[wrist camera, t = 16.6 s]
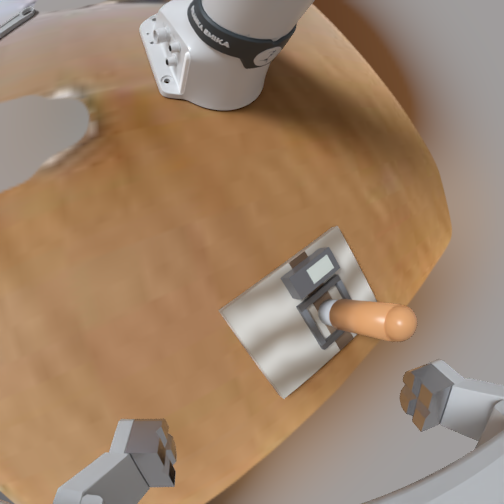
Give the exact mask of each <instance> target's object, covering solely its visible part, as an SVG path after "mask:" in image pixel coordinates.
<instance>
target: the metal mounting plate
mask: <svg viewBox="0 0 504 504" xmlns="http://www.w3.org/2000/svg"><path fill="white" fill-rule="evenodd" d="M324 247H329V248H330V250H331V251H332V253H333V255H334V257H335V259H336V260H337V262H338V264H339V266H340V268H339V269H338V270H337V271H336V272H335V273H334V274H332V275H331V276H330V277H329V278H328V279H326V280H325V281H324V282H323V283H322V284H320V285H319V286H318V287H317V288H316V289H314V290H313V291H312V292H311V293H309V294H308V295H307V296H306V297H305V298H303V299H302V300H300V299H293V298H292V296H291V295H290V293H289V291H288V290H287V288H286V287H285V285H284V283H283V282H282V280H281V277H282V276H283V275H285V274H286V273H287V272H289V271H290V270H291V269H293V268H294V267H295V266H297V265H298V264H299V263H301V262H302V261H303V260H305V259H306V258H307V257H309V256H310V255H311V254H312V253H314V252H315V251H316V250H318V249H319V248H324ZM327 299H335V300H339V299H350V300H360V301H371V302H377V301H376V299H375V297H374V294H373V292H372V290H371V288H370V286H369V284H368V282H367V280H366V278H365V276H364V275H363V273H362V271H361V269H360V267H359V265H358V263H357V261H356V259H355V257H354V255H353V253H352V252H351V250H350V248H349V246H348V244H347V242H346V240H345V239H344V237H343V235H342V233H341V231H340V229H339V228H338V226H335V227H332V228H330V229H329V230H328V231H326V232H325V233H324V234H322V235H321V236H320V237H318V238H317V239H316V240H314V241H313V242H312V243H310V244H309V245H308V246H306V247H305V248H304V249H302V250H301V251H300V252H298V253H297V254H295V255H294V256H293V257H291V258H290V259H289V260H287V261H286V262H285V263H283V264H282V265H281V266H279V267H278V268H276V269H275V270H274V271H272V272H271V273H270V274H268V275H267V276H266V277H264V278H263V279H261V280H260V281H259V282H257V283H256V284H254V285H253V286H252V287H250V288H249V289H248V290H246V291H245V292H243V293H242V294H241V295H239V296H238V297H236V298H235V299H234V300H232V301H231V302H229V303H228V304H227V305H225V306H224V307H222V308H221V309H220V310H219V312H220V313H221V315H222V316H223V318H224V319H225V321H226V322H227V324H228V325H229V326H230V328H231V329H232V331H233V332H234V334H235V335H236V336H237V338H238V339H239V341H240V342H241V344H242V345H243V346H244V348H245V349H246V351H247V352H248V353H249V355H250V356H251V358H252V359H253V360H254V362H255V363H256V365H257V366H258V367H259V369H260V370H261V371H262V373H263V374H264V375H265V377H266V378H267V380H268V381H269V382H270V384H271V385H272V386H273V388H274V389H275V390H276V392H277V393H278V394H279V395H280V396H281V397H282V398H283V399H284V398H286V397H287V396H288V395H289V394H291V393H292V392H293V391H294V390H295V389H297V388H298V387H299V386H300V385H301V384H303V383H304V382H305V381H306V380H307V379H308V378H310V377H311V376H312V375H313V374H314V373H315V372H317V371H318V370H319V369H320V368H321V367H322V366H323V365H325V364H326V363H327V362H328V361H329V360H330V359H331V358H332V357H333V356H334V355H336V354H337V353H338V352H339V351H340V350H342V349H343V348H344V347H345V346H346V345H347V344H348V343H349V342H350V341H351V340H352V339H353V338H354V337H355V336H356V335H357V334H356V333H351V332H347V331H343V330H339V329H336V328H334V327H333V326H329V325H325V324H323V323H322V322H321V321H320V319H319V316H318V310H319V307H320V305H321V303H322V302H323V301H325V300H327Z"/></svg>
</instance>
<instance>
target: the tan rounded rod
mask: <svg viewBox="0 0 504 504" xmlns="http://www.w3.org/2000/svg"><path fill="white" fill-rule="evenodd" d="M318 316H319V319H320V321H321V322H322V323H323V324H325V325H329V326H333V327H334V328H336V329H339V330H343V331H347V332H351V333H356V334H360V335H364V336H369V337H373V338H377V339H382V340H386V341H391V342H402V341H405V340H407V339H409V338H410V337H411V336H412V335H413V334H414V332H415V330H416V328H417V317H416V315H415V313H414V311H412V309H411V308H409V307H407V306H404V305H401V304H394V303H382V302H371V301H360V300H350V299H339V300H335V299H327V300H325V301H323V302H322V303H321V305H320V307H319V310H318Z"/></svg>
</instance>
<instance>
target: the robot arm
mask: <svg viewBox="0 0 504 504" xmlns="http://www.w3.org/2000/svg"><path fill="white" fill-rule="evenodd" d="M313 2H314V0H172V1H170V2H168V3H166V4H165V5H164V6H162V7H161V9H160V10H159V12H158V13H157V14H155V15H153V16H151V17H150V18H148V19H147V20H145V21H144V22H143V23H142V24H141V25H140V29H139V31H140V35H141V38H142V41H143V44H144V47H145V50H146V53H147V56H148V59H149V62H150V65H151V68H152V71H153V74H154V77H155V79H156V82H157V85H158V88H159V91H160V93H161V94H162V95H163V96H165V97H168V98H176V99H185V100H188V101H190V102H192V103H194V104H197V105H199V106H202V107H205V108H208V109H214V110H233V109H238V108H241V107H244V106H246V105H248V104H250V103H251V102H253V101H254V100H255V99H256V98H257V97H258V96H259V95H260V93H261V91H262V89H263V85H264V80H265V76H266V73H267V70H268V68H269V65H270V63H271V61H272V60H273V59H274V58H275V57H276V56H277V55H278V54H279V53H280V51H281V50H282V49H283V47H284V46H285V45H286V43H287V42H288V40H289V39H290V38H291V36H292V35H293V33H294V31H295V29H296V24H297V22H298V21H299V19H300V18H301V17H302V16H303V14H304V13H305V12H306V10H307V9H308V8H309V7H310V5H311V4H312V3H313ZM165 81H168V82H169V83H164V82H165ZM403 382H404V383H405V386H404V387H403V389H402V390H401V393H400V402H401V406H402V408H403V410H404V411H405V413H406V414H409V415H412V416H413V419H412V421H413V423H414V424H415V425H416V426H417V427H418V428H419V430H420V431H421V432H422V431H424V430H427V429H429V428H432V427H434V426H436V425H438V424H440V425H442V426H444V427H446V428H448V429H451V430H453V431H455V432H458V433H460V434H462V435H465V436H467V437H470V438H472V439H474V440H477V441H478V444H477V445H476V447H475V449H474V450H473V451H471V452H470V453H468V454H467V455H465V456H463V457H462V458H460V459H458V460H457V461H455V462H453V463H451V464H450V465H448V466H446V467H444V468H442V469H440V470H439V471H436V472H435V473H433V474H431V475H429V476H427V477H425V478H423V479H420V480H418V481H416V482H414V483H412V484H410V485H408V486H405V487H403V488H401V489H398V490H396V491H394V492H391V493H389V494H387V495H384V496H381V497H379V498H376V499H373V500H371V501H368V502H365V503H362V504H504V385H500V384H495V383H490V382H484V381H480V380H475V379H471V378H467V379H465V378H464V377H462V376H461V375H460V374H459V373H458V372H456V371H455V370H454V369H453V368H452V367H450V366H449V365H448V364H447V363H446V362H444V361H443V360H441V359H438V360H435V361H433V362H430V363H428V364H426V365H423V366H420V367H418V368H415V369H412V370H410V371H407V372H406V373H405V375H404V377H403ZM168 429H169V426H168V424H167V422H166V420H165V419H121V420H120V421H119V422H118V425H117V428H116V431H115V435H114V438H113V441H112V444H111V448H110V451H109V453H104V454H102V455H101V456H100V457H99V458H97V459H96V460H95V461H93V462H92V463H91V464H90V465H88V466H87V467H86V468H84V469H83V470H82V471H80V472H79V473H78V474H76V475H75V476H74V477H72V478H71V479H70V480H68V481H67V482H66V483H64V484H63V485H62V486H60V487H59V488H58V490H57V493H56V496H55V498H54V501H53V504H137V503H138V502H139V501H140V499H141V498H142V497H143V496H144V495H145V493H146V492H147V491H148V490H149V489H150V488H149V487H174V486H175V469H174V467H173V464H174V463H175V462H176V446H175V442H174V439H173V437H172V436H171V435H170V434H168ZM0 504H11V503H8V502H5V501H3V500H0Z"/></svg>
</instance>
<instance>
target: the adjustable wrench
mask: <svg viewBox="0 0 504 504" xmlns="http://www.w3.org/2000/svg"><path fill="white" fill-rule="evenodd" d="M30 11H32V12H31V13H29V14H27V15H25V14H26V13H28V12H30ZM34 14H35V10H34V7H28V8H26V9H24V10H22V11H21V12H19V13H18V14H16V15H15V16H13V17H12V18H10V19H9V20H8V21H6V22H5V23H3V24H2V25H1V26H0V38H1V37H3V36H4V35H5V34H7V33H8V32H10V31H11V30H12V29H14V28H15V27H17V26H18V25H20V24H21V23H23V22H24V21H26V20H28V19H29V18H31V17H32V16H33V15H34Z"/></svg>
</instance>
